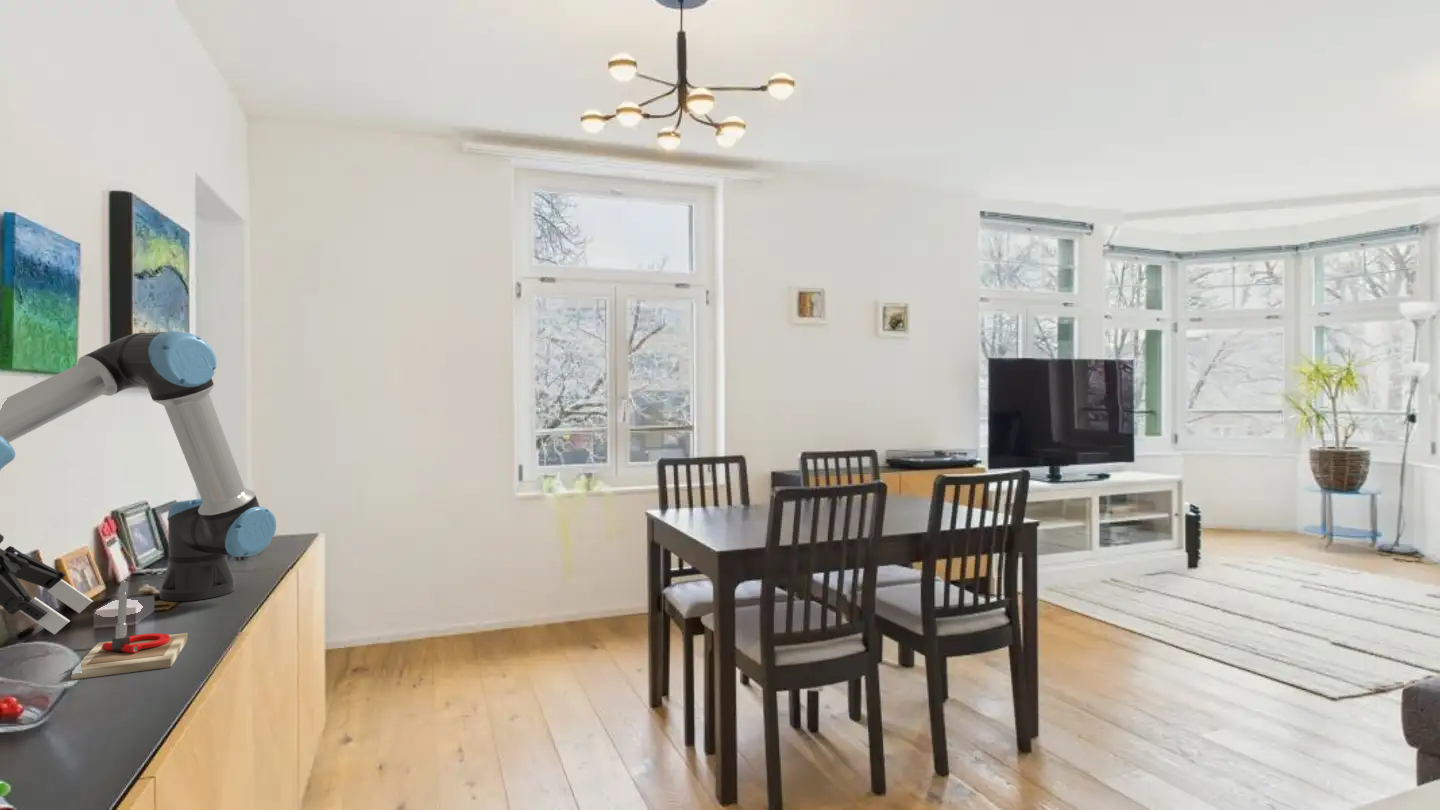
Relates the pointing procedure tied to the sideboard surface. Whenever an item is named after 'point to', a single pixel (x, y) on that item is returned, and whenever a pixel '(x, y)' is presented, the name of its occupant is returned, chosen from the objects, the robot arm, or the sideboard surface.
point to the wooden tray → (130, 658)
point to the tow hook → (121, 639)
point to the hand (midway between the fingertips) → (75, 617)
